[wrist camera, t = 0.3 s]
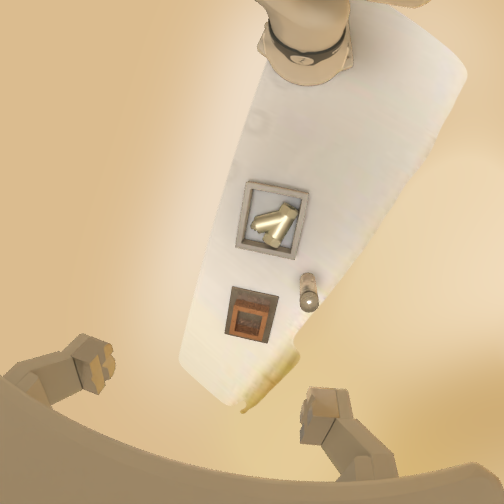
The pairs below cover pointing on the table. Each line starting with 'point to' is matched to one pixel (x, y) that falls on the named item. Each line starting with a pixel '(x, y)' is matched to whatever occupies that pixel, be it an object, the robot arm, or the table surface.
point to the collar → (250, 314)
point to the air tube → (308, 293)
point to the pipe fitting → (275, 224)
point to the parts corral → (265, 247)
